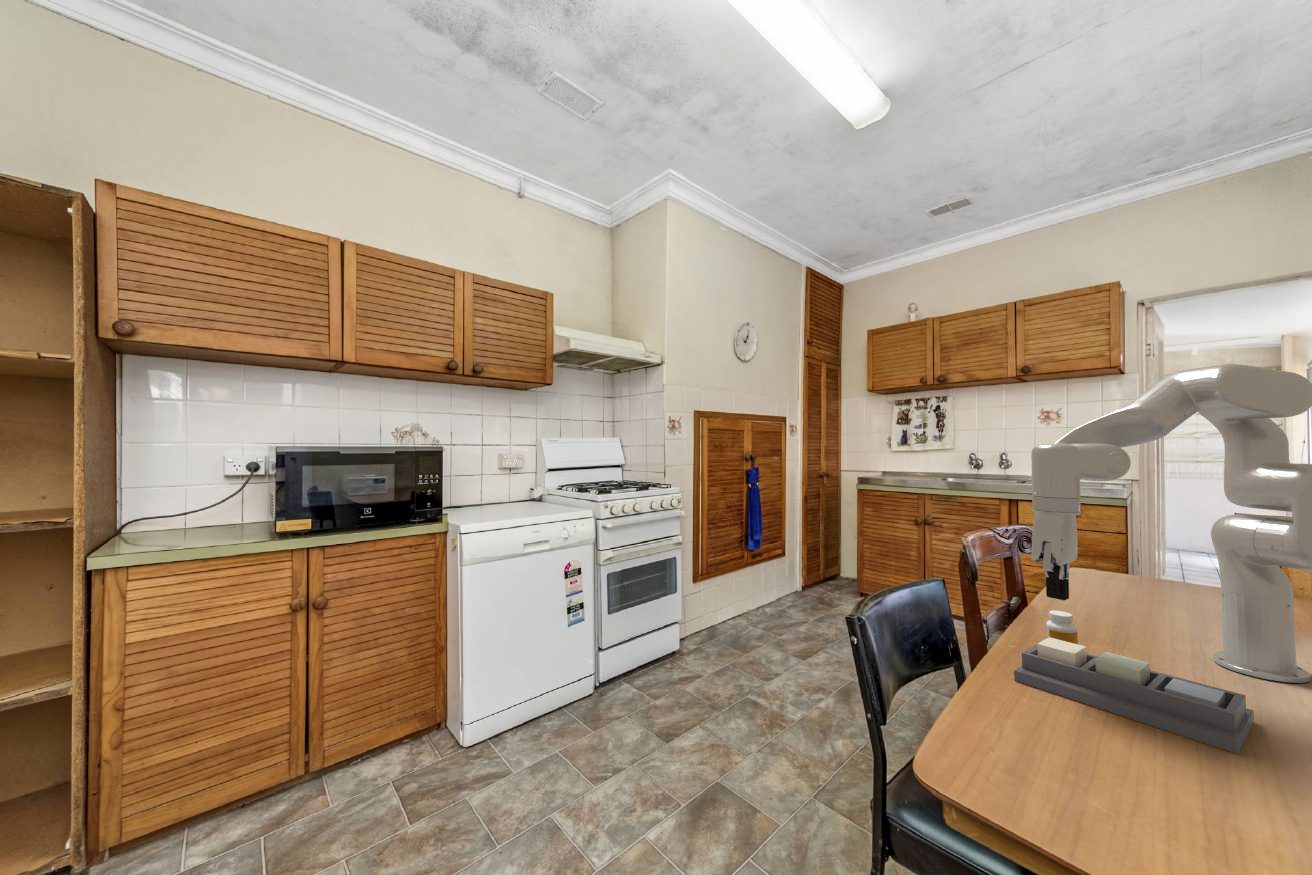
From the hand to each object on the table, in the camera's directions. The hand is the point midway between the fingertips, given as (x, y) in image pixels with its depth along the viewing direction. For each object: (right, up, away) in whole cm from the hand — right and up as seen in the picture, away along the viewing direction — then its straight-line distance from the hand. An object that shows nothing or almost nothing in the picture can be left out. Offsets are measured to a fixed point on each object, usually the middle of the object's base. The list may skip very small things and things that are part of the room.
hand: (1057, 597), depth 98 cm
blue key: (+11, -14, -15) cm, 23 cm away
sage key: (+6, -12, -8) cm, 15 cm away
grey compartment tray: (+6, -16, -8) cm, 19 cm away
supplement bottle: (+9, -17, +10) cm, 22 cm away
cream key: (+1, -12, 0) cm, 12 cm away
